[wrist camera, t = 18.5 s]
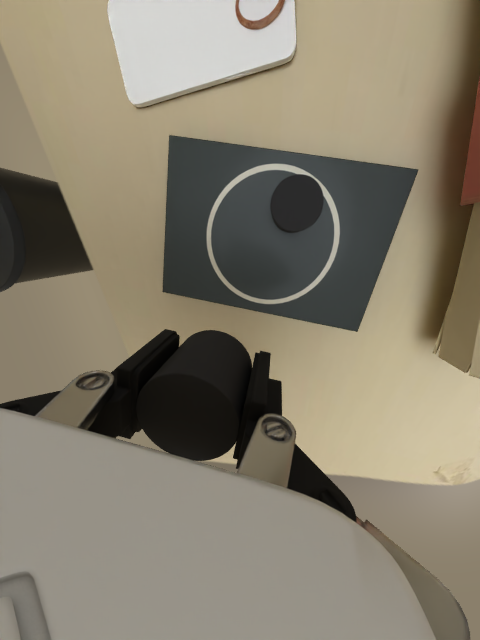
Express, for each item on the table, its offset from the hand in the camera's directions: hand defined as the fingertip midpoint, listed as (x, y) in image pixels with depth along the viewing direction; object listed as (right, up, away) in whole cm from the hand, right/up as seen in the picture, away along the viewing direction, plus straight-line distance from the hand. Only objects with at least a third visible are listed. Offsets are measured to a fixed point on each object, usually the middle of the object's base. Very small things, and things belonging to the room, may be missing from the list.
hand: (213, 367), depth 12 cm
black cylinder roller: (0, 0, 0) cm, 0 cm away
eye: (+6, +13, +10) cm, 17 cm away
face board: (+5, +11, +12) cm, 17 cm away
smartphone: (-2, +26, +7) cm, 27 cm away
